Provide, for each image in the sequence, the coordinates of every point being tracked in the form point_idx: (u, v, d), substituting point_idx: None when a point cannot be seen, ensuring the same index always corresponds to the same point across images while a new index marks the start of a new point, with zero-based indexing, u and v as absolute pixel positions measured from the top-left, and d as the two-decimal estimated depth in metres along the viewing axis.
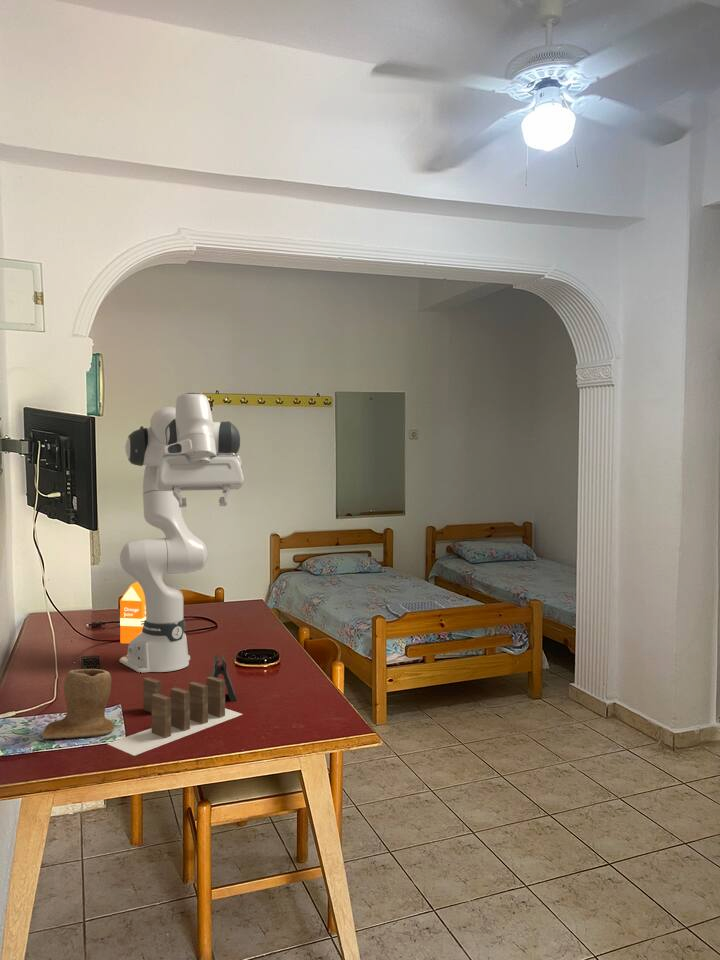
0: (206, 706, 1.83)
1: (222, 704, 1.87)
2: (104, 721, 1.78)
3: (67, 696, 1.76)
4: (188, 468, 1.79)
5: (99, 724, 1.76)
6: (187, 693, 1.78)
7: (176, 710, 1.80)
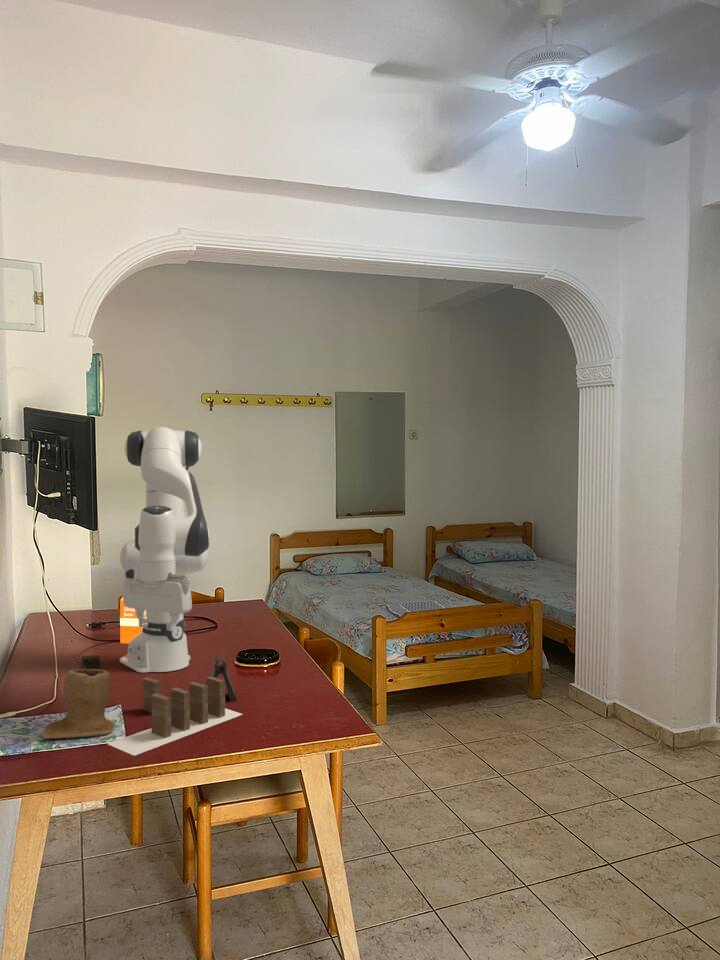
0: (206, 706, 1.83)
1: (222, 704, 1.87)
2: (104, 721, 1.78)
3: (67, 696, 1.76)
4: (144, 591, 1.87)
5: (99, 724, 1.76)
6: (187, 693, 1.78)
7: (176, 710, 1.80)
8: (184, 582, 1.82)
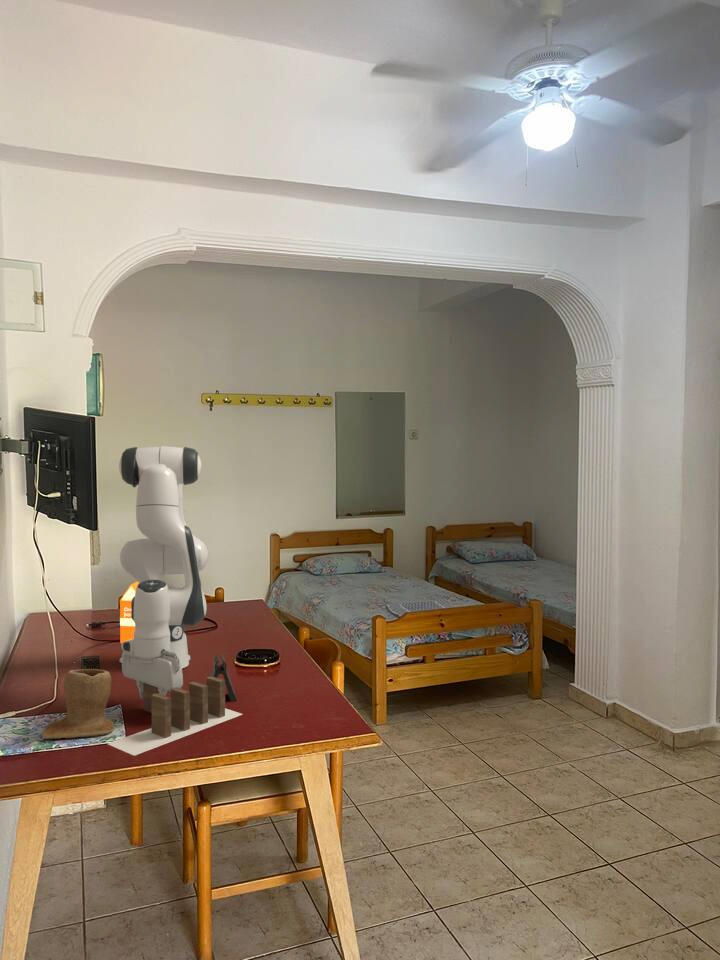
0: (206, 706, 1.83)
1: (222, 704, 1.87)
2: (104, 721, 1.78)
3: (67, 696, 1.76)
4: (140, 664, 1.91)
5: (99, 724, 1.76)
6: (187, 693, 1.78)
7: (176, 710, 1.80)
8: (175, 661, 1.84)
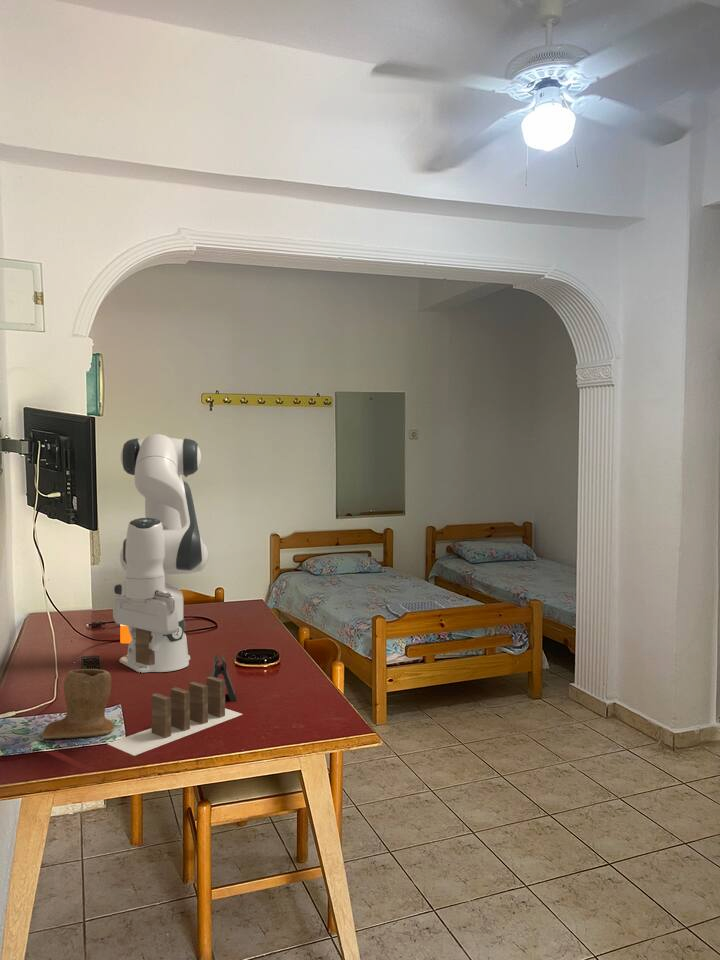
0: (206, 706, 1.83)
1: (222, 704, 1.87)
2: (104, 721, 1.78)
3: (67, 696, 1.76)
4: (132, 608, 1.77)
5: (99, 724, 1.76)
6: (187, 693, 1.78)
7: (176, 710, 1.80)
8: (169, 601, 1.71)
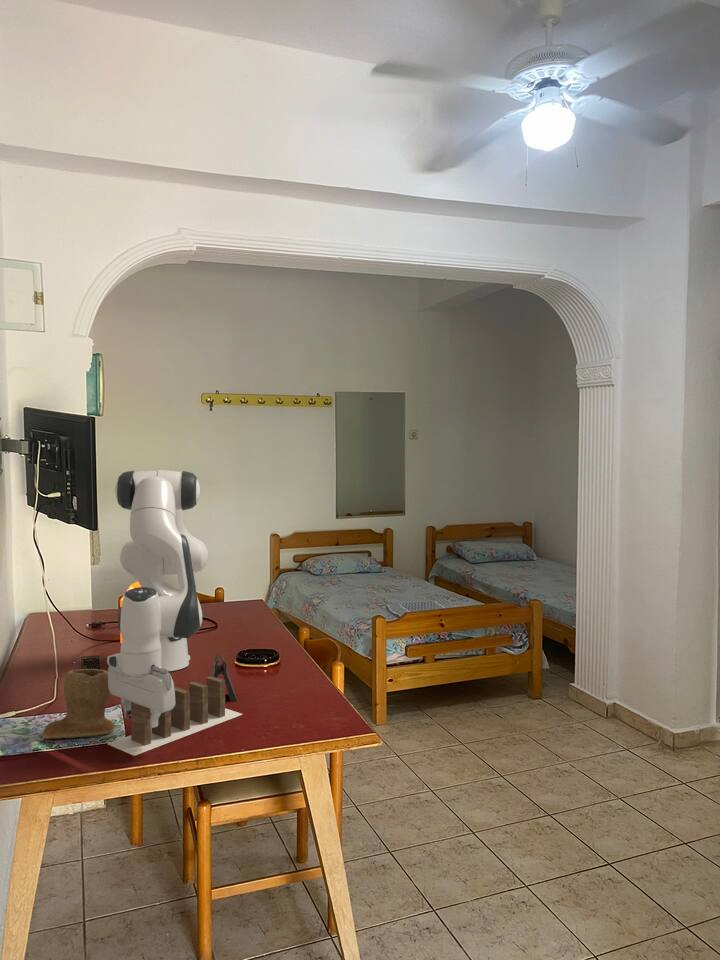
0: (206, 706, 1.83)
1: (222, 704, 1.87)
2: (104, 721, 1.78)
3: (67, 696, 1.76)
4: (127, 681, 1.71)
5: (99, 724, 1.76)
6: (187, 693, 1.78)
7: (176, 710, 1.80)
8: (166, 678, 1.65)
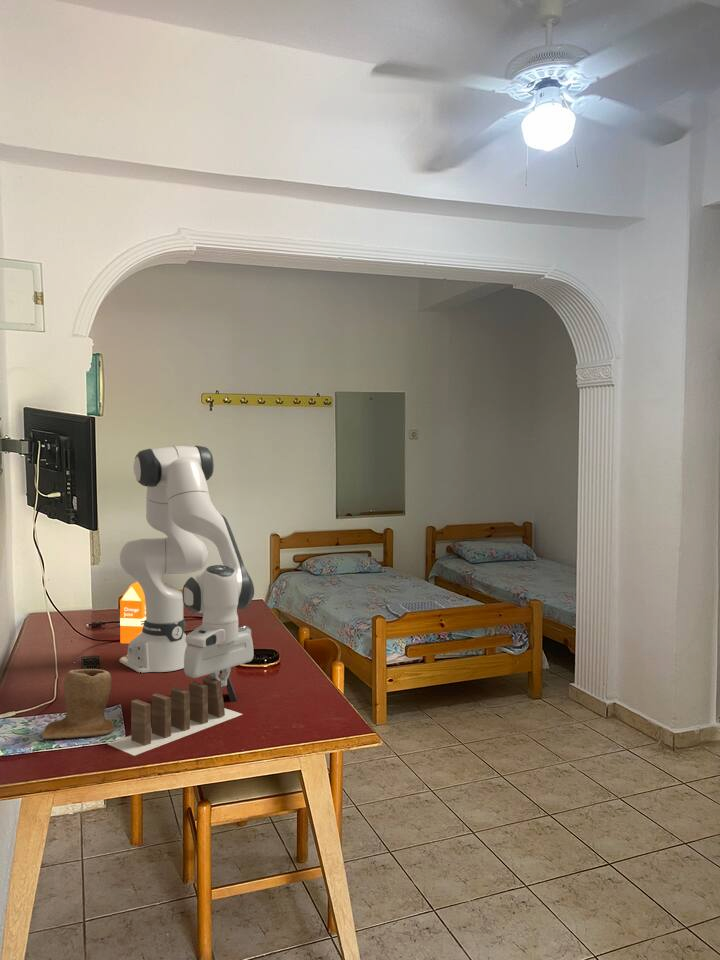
0: (206, 706, 1.83)
1: (220, 704, 1.87)
2: (104, 721, 1.78)
3: (66, 696, 1.76)
4: (215, 654, 1.86)
5: (99, 724, 1.76)
6: (187, 693, 1.78)
7: (176, 710, 1.80)
8: (249, 631, 1.96)
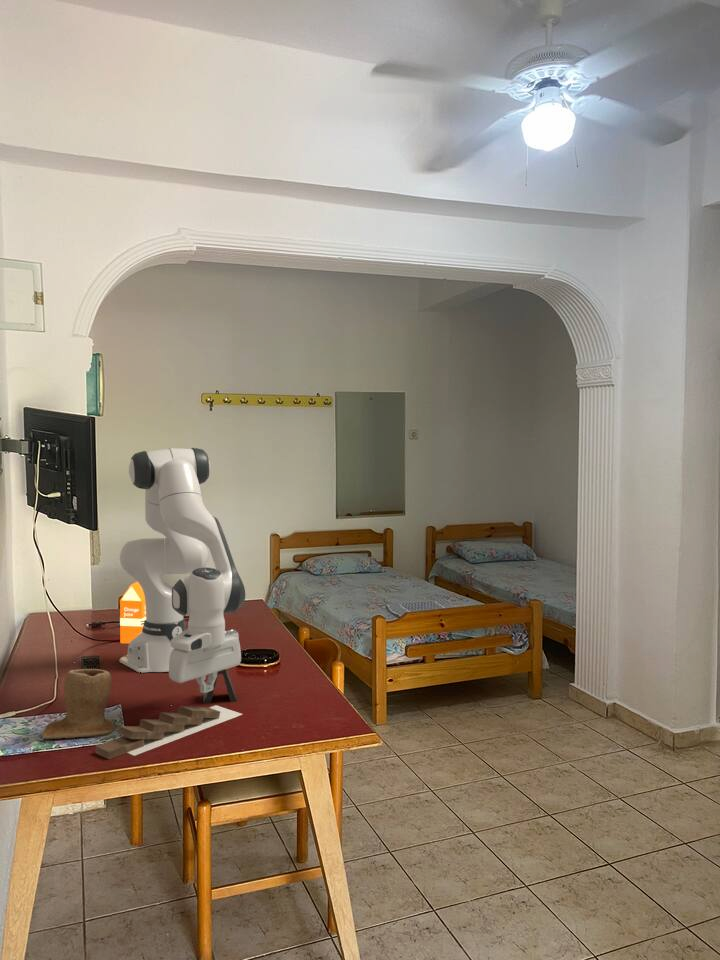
0: (189, 719, 1.79)
1: (210, 715, 1.84)
2: (104, 721, 1.78)
3: (67, 696, 1.76)
4: (201, 658, 1.82)
5: (99, 724, 1.76)
6: (154, 727, 1.71)
7: None
8: (236, 635, 1.93)
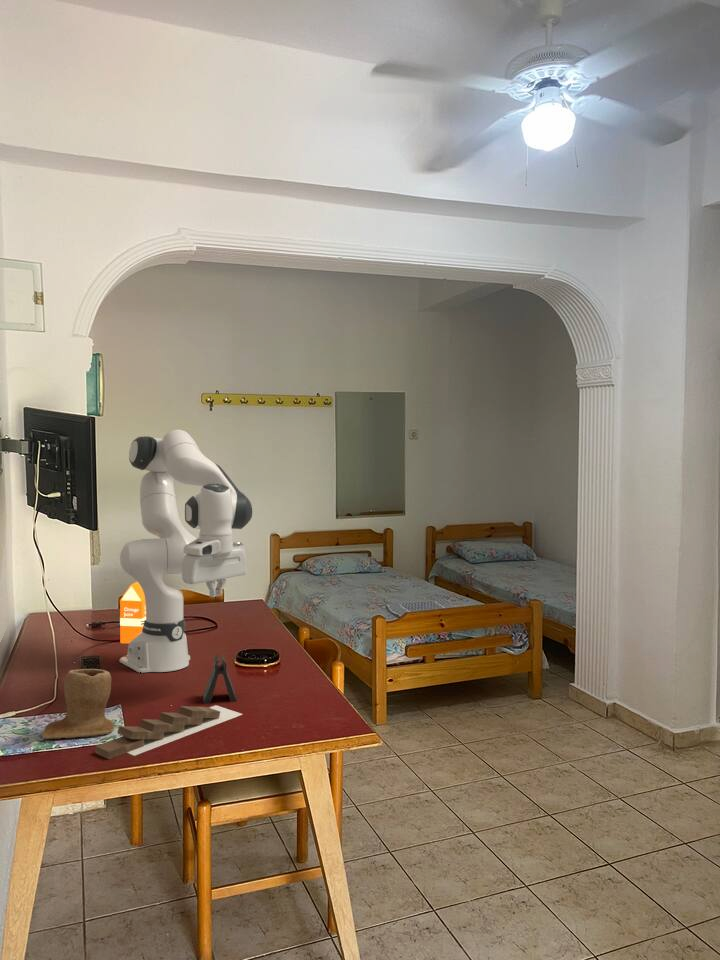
0: (189, 719, 1.79)
1: (210, 715, 1.84)
2: (104, 721, 1.78)
3: (66, 696, 1.76)
4: (211, 564, 2.01)
5: (99, 724, 1.76)
6: (154, 727, 1.71)
7: None
8: (242, 548, 2.11)
